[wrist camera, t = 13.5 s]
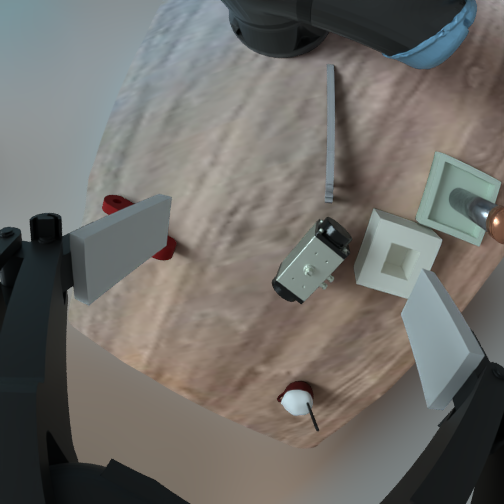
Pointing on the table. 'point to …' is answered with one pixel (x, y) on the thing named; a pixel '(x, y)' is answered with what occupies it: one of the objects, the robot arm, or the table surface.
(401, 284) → the block
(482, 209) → the pin
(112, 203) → the mechanical linkage
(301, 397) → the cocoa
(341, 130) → the table surface
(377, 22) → the robot arm
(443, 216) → the tray
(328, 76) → the caliper
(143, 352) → the table surface
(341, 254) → the pneumatic valve
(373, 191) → the table surface
